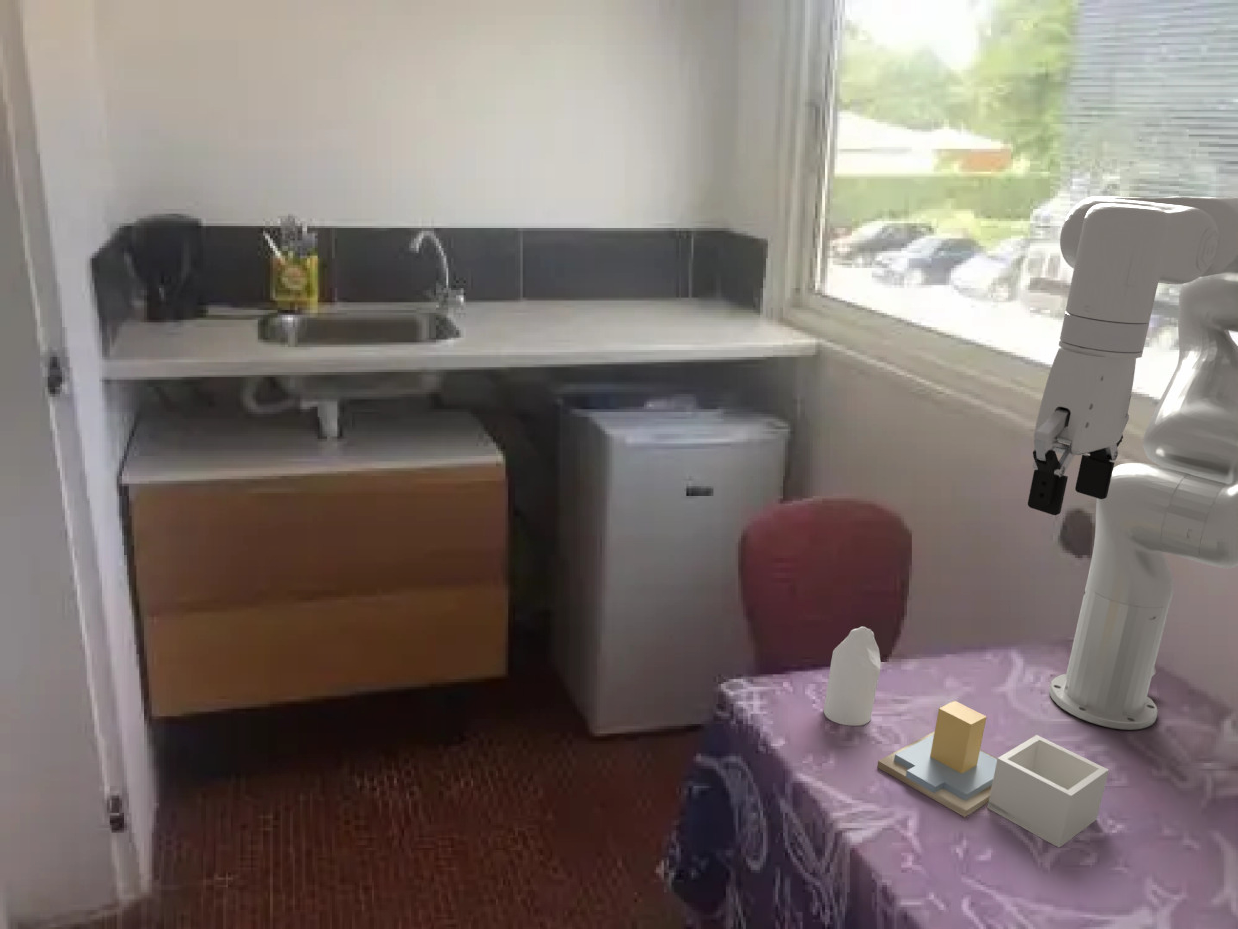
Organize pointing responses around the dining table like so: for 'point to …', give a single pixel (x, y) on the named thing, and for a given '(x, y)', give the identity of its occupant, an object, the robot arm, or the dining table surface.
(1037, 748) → the tub
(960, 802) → the board
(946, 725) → the lid
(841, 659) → the white faceted top cylinder
